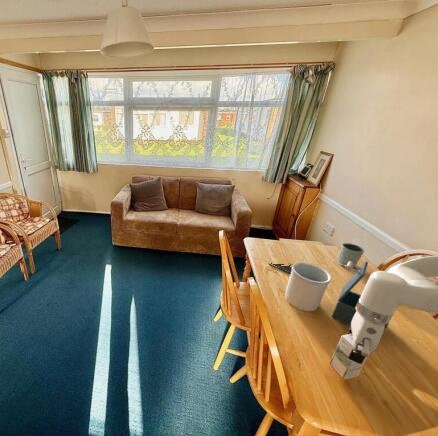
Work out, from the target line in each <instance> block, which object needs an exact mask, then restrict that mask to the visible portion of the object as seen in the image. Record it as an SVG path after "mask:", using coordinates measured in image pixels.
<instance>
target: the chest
mask: <svg viewBox="0 0 438 436" xmlns="http://www.w3.org/2000/svg"><path fill="white" fill-rule="evenodd" d="M361 295H362V294H359V293H357V292H354V291H352V290H350V292H349V293H348V294H347V295H346V296H345V297H344V298H343V299H342V300H341V301H340V302H339V301H338V300H337V302H336V304H335V306H334V309H333V312H332V314H331V318H333V319H335V320H337V321H339V322H341V323H343V324H344V325H347V326H349V327H351V322H352V319H353V317H354V315H355V313H356V305H357V303H358V301H359V299H360V297H361ZM389 325H390V322H389V323H388V324H385V328H384V331H383V334H384V333H385V331H386V329H387V328H388V326H389Z"/></svg>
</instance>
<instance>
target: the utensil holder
mask: <svg viewBox="0 0 438 436" xmlns="http://www.w3.org/2000/svg"><path fill="white" fill-rule="evenodd" d="M292 265H293V266H292V271H291V274H290V273H289V278H288V281H287V284H286V288H285V292H284V293H285V294H284V297H285V300H286V301H287V302H288V303H289V304H290V305H291V306H292V307H294V308H296V309H298V310H301V311H304V312H314V311H316V310H317V309H318V308H319V306H320V303H321V301H322V300H323V297H324V295H325V293H326V290H327V288H328V286H329V284H330V283H331V281H332V275H331V274H330V272H329V271H328V270H326V269H324V268H323V267H321V266H319V265H316V264H315V263H311V262H304V261H299V262H295V263H293V264H292Z"/></svg>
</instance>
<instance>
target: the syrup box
mask: <svg viewBox="0 0 438 436" xmlns="http://www.w3.org/2000/svg"><path fill="white" fill-rule="evenodd" d="M360 343H361V344H363V342H360ZM354 347H355V343H354V341H353V336H352V334H347V333H346V334H343V335H341V337H340V339H339V341H338V343H337V346H336V347H335V349H334V352H333V354H332V356H331V358H330V361H329V362H328V364H329V365H330V366H331V368H332V369H333V370H334V371H335V372H336V373H337V374H338V375H339V376H340V378H341V379H342V380H349V379H353V378H358V376H359V375H360V372H361V371H362V369H363V367H364V365H365V363H366V361H367V360H368V358H369V356H370V354H371V353H372V352H373V351H372V350H370V348H369V355H368V356H367V357H365V359H364V361H363V362H362V364H359V363H357V362H354V361H352V360H350V359H348V356H349V355H350V353H351V351H352V349H354ZM358 350H362V346H358Z"/></svg>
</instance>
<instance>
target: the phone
mask: <svg viewBox="0 0 438 436" xmlns="http://www.w3.org/2000/svg"><path fill="white" fill-rule="evenodd" d="M271 264H272V263H271ZM289 264H290V263H289ZM273 265H275V266H277V267H279V268H281V269H283V270H286V271H288V272H290V273H291V271H292V267H290V266H291V265H292V266H293V264H290V265H289V266H281V265H284V264H273ZM279 268H278V269H279ZM281 269H280V270H281ZM283 270H282V271H283ZM286 271H285V272H286ZM288 272H287V273H288ZM290 273H289V274H290Z"/></svg>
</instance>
